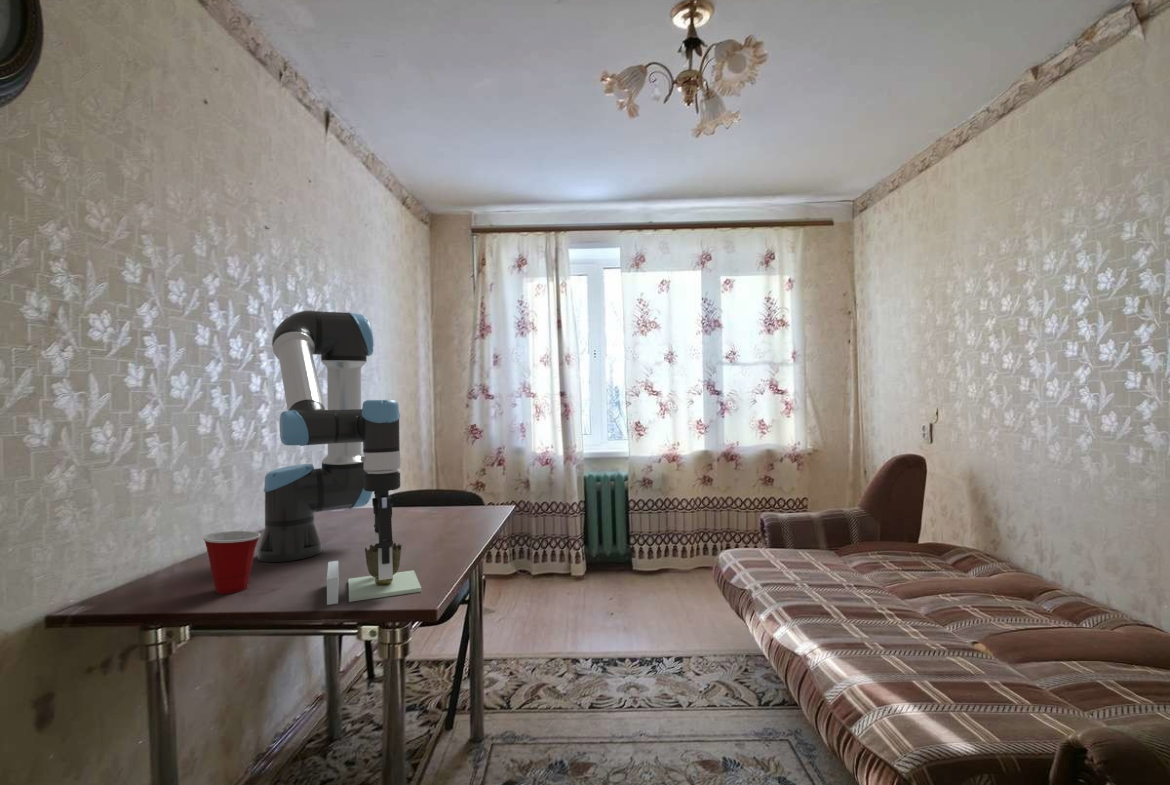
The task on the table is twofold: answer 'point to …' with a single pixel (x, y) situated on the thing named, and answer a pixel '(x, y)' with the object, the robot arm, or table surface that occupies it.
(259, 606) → the table surface
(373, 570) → the cup
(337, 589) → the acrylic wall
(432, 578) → the table surface
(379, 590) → the green pad
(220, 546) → the plastic cup
